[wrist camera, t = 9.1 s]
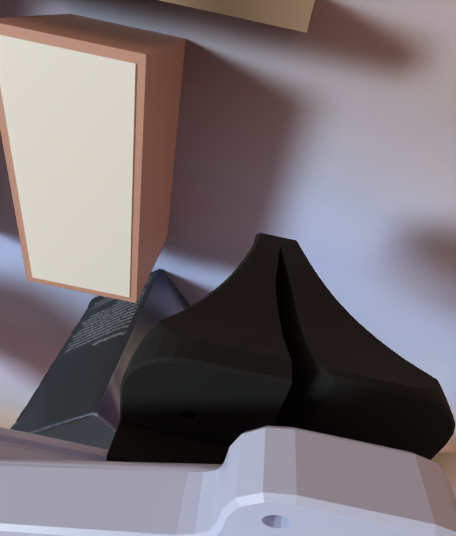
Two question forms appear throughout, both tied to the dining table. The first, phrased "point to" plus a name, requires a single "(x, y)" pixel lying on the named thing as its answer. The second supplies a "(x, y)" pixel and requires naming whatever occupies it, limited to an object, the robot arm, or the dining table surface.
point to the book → (89, 147)
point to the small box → (97, 366)
